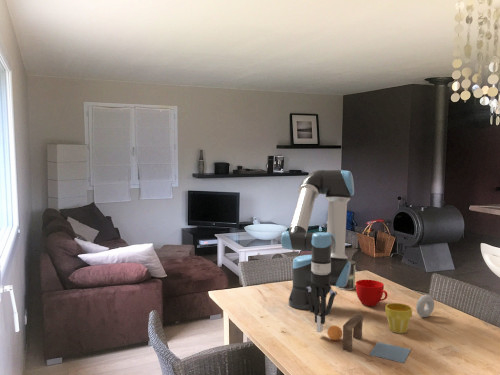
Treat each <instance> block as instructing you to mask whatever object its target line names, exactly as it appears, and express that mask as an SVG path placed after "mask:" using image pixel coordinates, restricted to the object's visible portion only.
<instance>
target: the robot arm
mask: <svg viewBox="0 0 500 375" xmlns="http://www.w3.org/2000/svg"><path fill="white" fill-rule="evenodd" d="M298 194H299V195H298V198H297V201H296V202H297V203H296V206H295V209H294V213H293V216H292V219H291V223H290V225H289V226H290V227H289V230H285V231H283V232H282V233H281V238H280V244H281V247H282V248H283V249H285V250H290V251H306V252H311V254H304V255H299V256H296V257H294V258H293V261H292V289H291V291H290V294H289V297H288V305H289V306H290V307H292V308H294V309H298V310H305V311H306V310H308V311H309V312H310V313H312V314H314V323H316V332H317V333H322V331H323V330H324V325H325V324H326V317H327V316H329V315H330V314H331V311H332V308H333V307H332V306H333V303H334V301H335V297H336V296H337V295H338V292H337V291H335V290H333V289H332V287H335V288H336V287H344V286H346V285H347V283H348V279H349V275H350V269H351V263H350V262H348V260H349V258H348V256H347V255H346V232H347V231H346V230H347V229H346V228H347V212H348V211H347V210H348V202H349V201H350V200H351V196H354V195H355V184H354V177H353V174H352V172H351V171H350V170H343V169H333V170H331V169H330V170H329V169H326V170H325V169H318V170H314V171H312V172H311V173H309V174H308V175H307V176H305V178H303V180H302V181H301V182H300V185H299V187H298ZM319 195H325V199H326V200H327V201H328V207H327V226H326V228H327V229H326V232H325V231H323V232H321V231H320V232H319V231H317V232H308V229H309V226H310V222H311V218H312V214H313V209H314V206H315V201H316V199H317V198H318V197H319ZM328 294H329V298H328V301H327V296H328Z"/></svg>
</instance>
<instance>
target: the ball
mask: <svg viewBox="0 0 500 375" xmlns="http://www.w3.org/2000/svg"><path fill="white" fill-rule="evenodd" d="M327 336H328V338H329V339H331V340H332V341H339V340H340V339H341V338H343V329H342V328H341V327H340V326H338V325H331V326H329V328H328V330H327Z"/></svg>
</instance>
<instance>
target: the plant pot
mask: <svg viewBox="0 0 500 375" xmlns="http://www.w3.org/2000/svg"><path fill="white" fill-rule="evenodd" d="M385 315H386V317H387V321H388V325H389V326H388V327H389V330H390V331H391V332H393V333H395V334H396V333H397V334H405V333H407V332H408V328H409V323H410V320H411V318H412V316H413V308H412V307H411V306H410V305H409V304H406V303H401V302H392V303H387V304H385Z"/></svg>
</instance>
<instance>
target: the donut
mask: <svg viewBox="0 0 500 375" xmlns="http://www.w3.org/2000/svg"><path fill="white" fill-rule="evenodd" d="M434 308H435V301H434V298H433V297H432V296H431V295H429V294H422V295H421V296H420V297H419V298H418V300H417V302H416V306H415V310H416V313H417V314H418V315H419V316H420V317H421V318H428V317H429V316H431V314H432V313H433V312H434Z"/></svg>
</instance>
